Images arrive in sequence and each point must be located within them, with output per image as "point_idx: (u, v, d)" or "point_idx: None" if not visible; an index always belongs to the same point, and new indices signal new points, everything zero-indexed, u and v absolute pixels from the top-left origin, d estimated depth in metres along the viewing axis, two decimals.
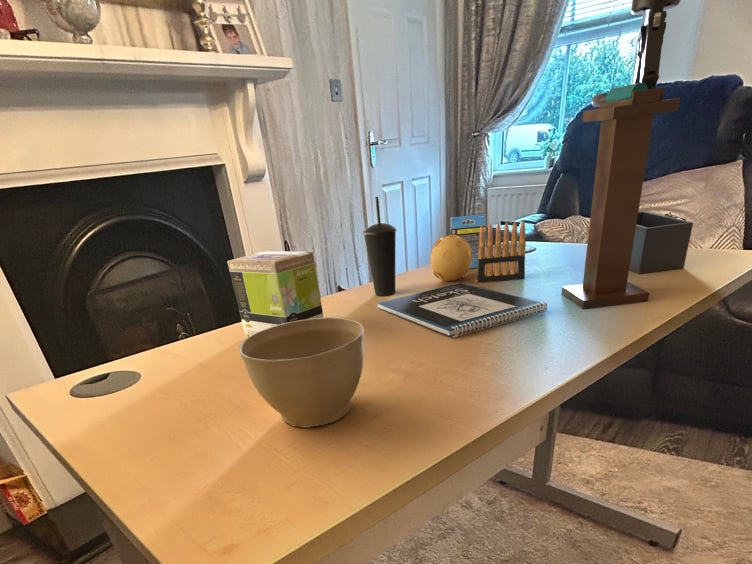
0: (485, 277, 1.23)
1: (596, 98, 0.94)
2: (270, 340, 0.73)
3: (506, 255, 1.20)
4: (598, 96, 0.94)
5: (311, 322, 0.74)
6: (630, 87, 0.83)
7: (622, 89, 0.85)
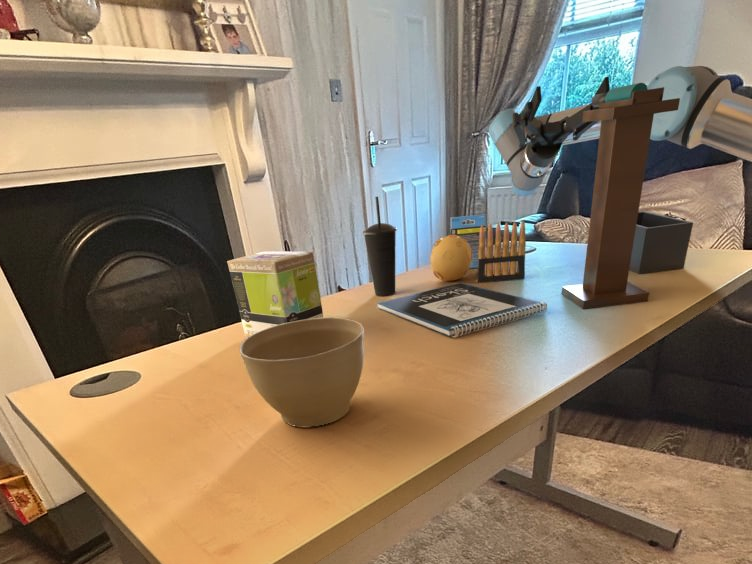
0: (485, 277, 1.23)
1: (596, 98, 0.94)
2: (270, 340, 0.73)
3: (506, 255, 1.20)
4: (598, 96, 0.94)
5: (311, 322, 0.74)
6: (629, 87, 0.83)
7: (621, 89, 0.85)
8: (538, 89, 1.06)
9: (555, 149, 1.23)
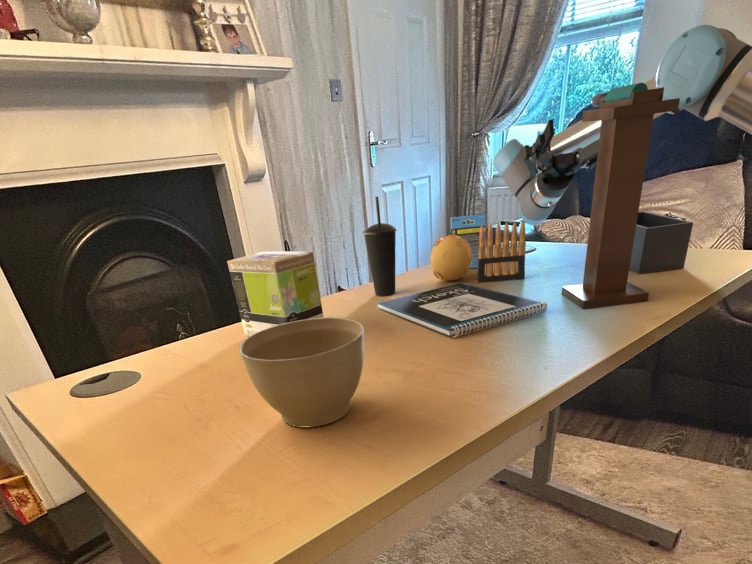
0: (485, 277, 1.23)
1: (596, 98, 0.94)
2: (270, 340, 0.73)
3: (506, 255, 1.20)
4: (598, 96, 0.94)
5: (311, 322, 0.74)
6: (630, 87, 0.83)
7: (622, 89, 0.85)
8: (551, 122, 1.01)
9: (567, 180, 1.18)
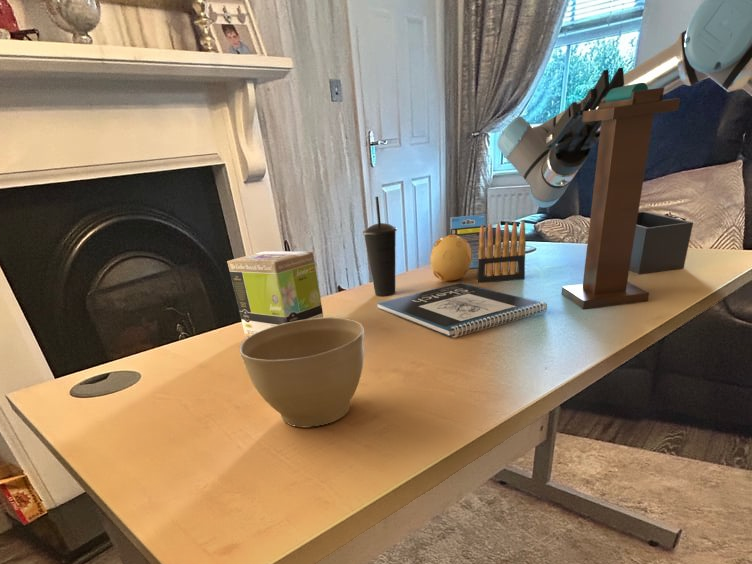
0: (485, 277, 1.23)
1: None
2: (270, 340, 0.73)
3: (506, 255, 1.20)
4: None
5: (311, 322, 0.74)
6: (630, 87, 0.83)
7: (622, 89, 0.85)
8: (606, 73, 0.89)
9: (582, 156, 1.09)
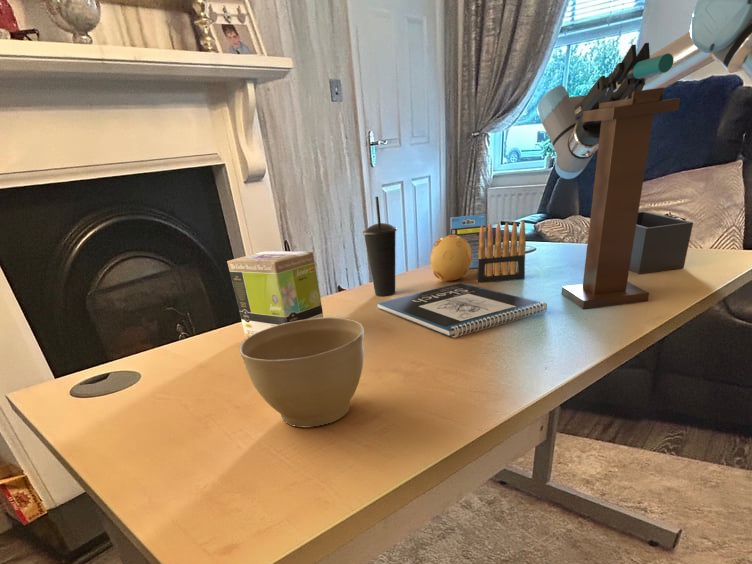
0: (485, 277, 1.23)
1: None
2: (270, 340, 0.73)
3: (506, 255, 1.20)
4: None
5: (311, 322, 0.74)
6: (657, 58, 0.93)
7: (650, 60, 0.96)
8: (633, 47, 1.00)
9: None
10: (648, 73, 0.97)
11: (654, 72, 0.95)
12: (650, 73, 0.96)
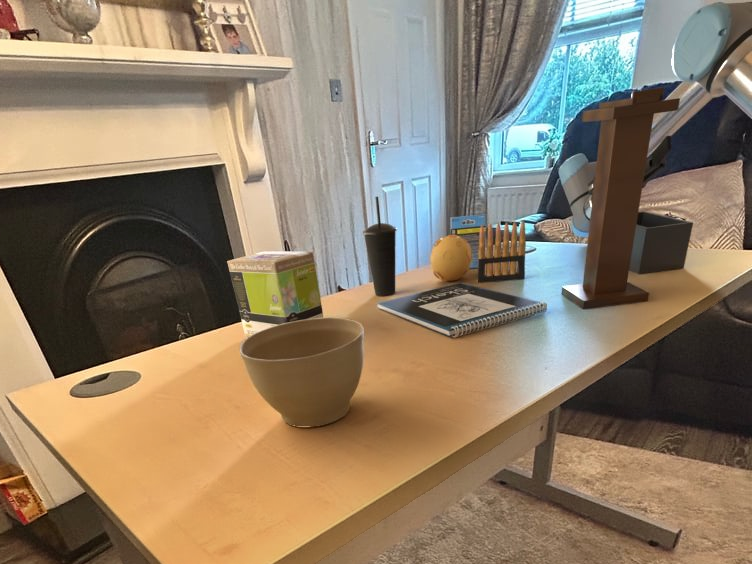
0: (485, 277, 1.23)
1: None
2: (270, 340, 0.73)
3: (506, 255, 1.20)
4: None
5: (311, 322, 0.74)
6: None
7: None
8: None
9: None
10: None
11: None
12: None
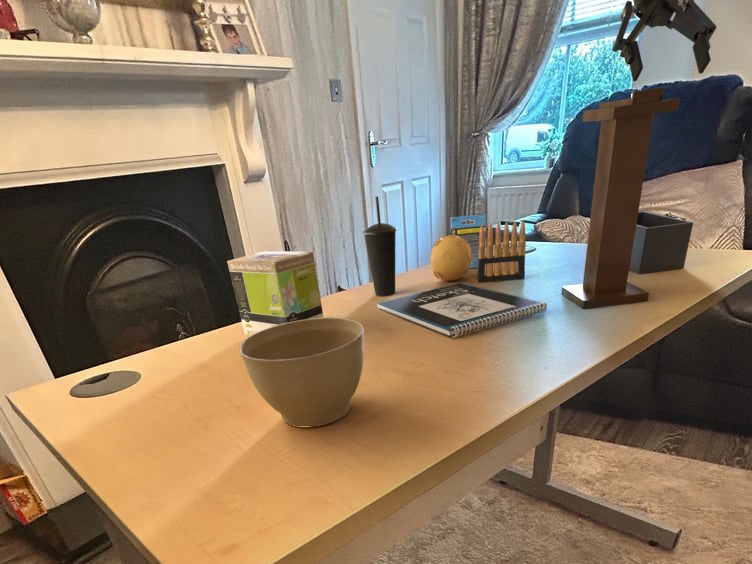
0: (485, 277, 1.23)
1: None
2: (270, 340, 0.73)
3: (506, 255, 1.20)
4: None
5: (311, 322, 0.74)
6: None
7: None
8: (639, 70, 1.06)
9: None
10: None
11: None
12: None
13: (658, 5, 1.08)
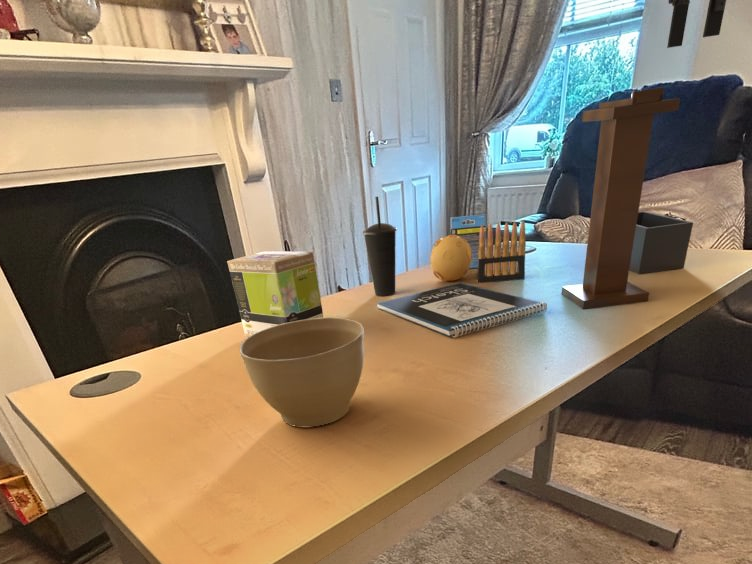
0: (485, 277, 1.23)
1: None
2: (270, 340, 0.73)
3: (506, 255, 1.20)
4: None
5: (311, 322, 0.74)
6: None
7: None
8: (715, 35, 1.00)
9: None
10: None
11: None
12: None
13: None
